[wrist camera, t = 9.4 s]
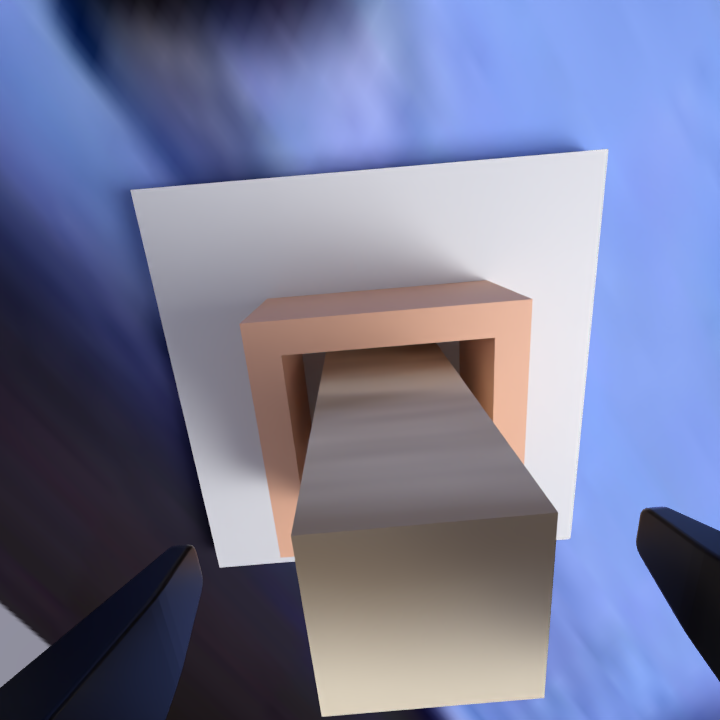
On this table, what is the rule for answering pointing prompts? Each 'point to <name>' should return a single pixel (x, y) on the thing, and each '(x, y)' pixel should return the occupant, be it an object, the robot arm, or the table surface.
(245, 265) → the socket stand
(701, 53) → the table surface
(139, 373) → the table surface
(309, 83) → the table surface
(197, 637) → the table surface
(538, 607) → the birch peg
